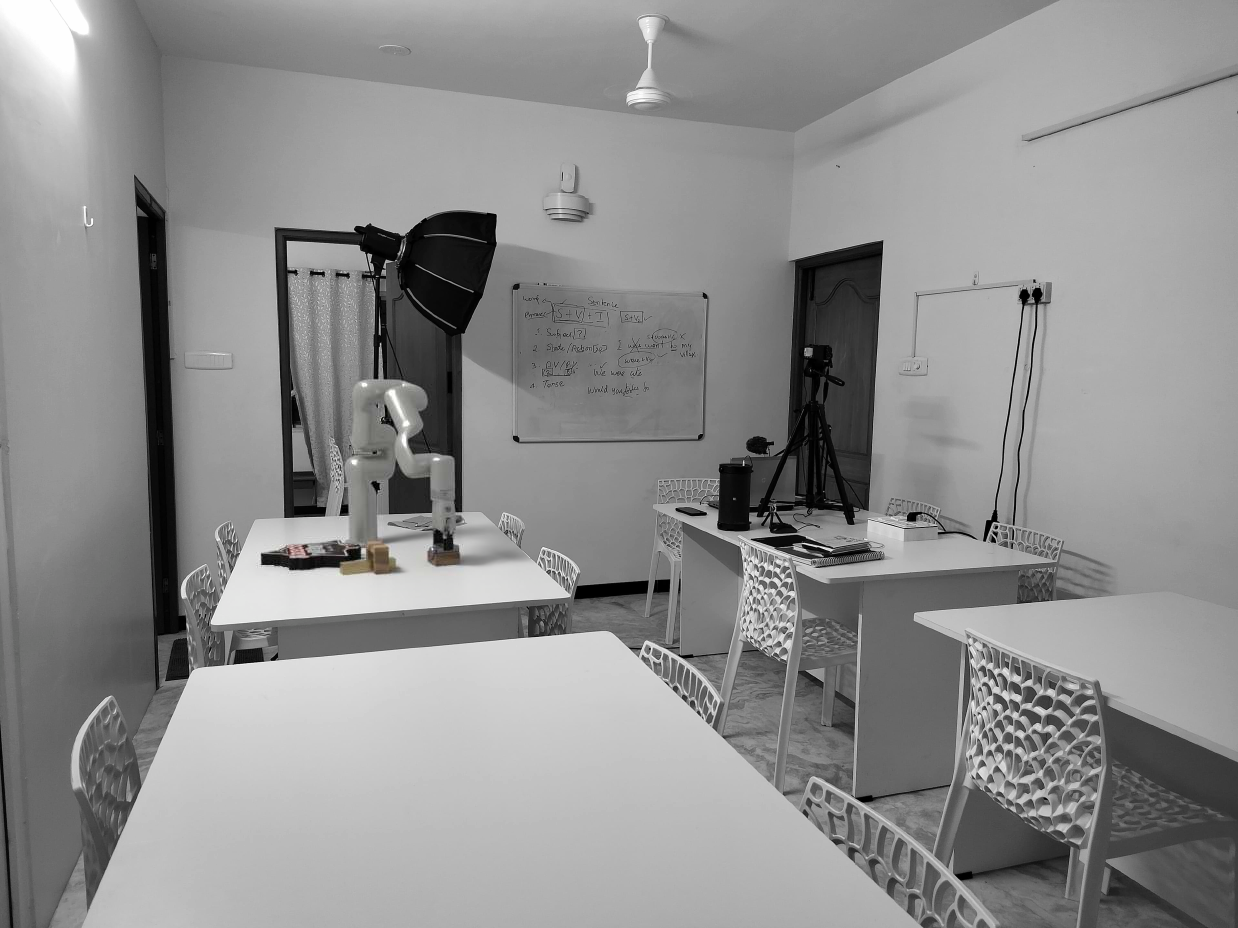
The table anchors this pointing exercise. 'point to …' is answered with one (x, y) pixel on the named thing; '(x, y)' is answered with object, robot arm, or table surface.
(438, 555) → the v block
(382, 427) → the robot arm
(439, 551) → the grey motor
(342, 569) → the bar
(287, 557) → the wall plaque
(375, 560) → the wooden arch block
